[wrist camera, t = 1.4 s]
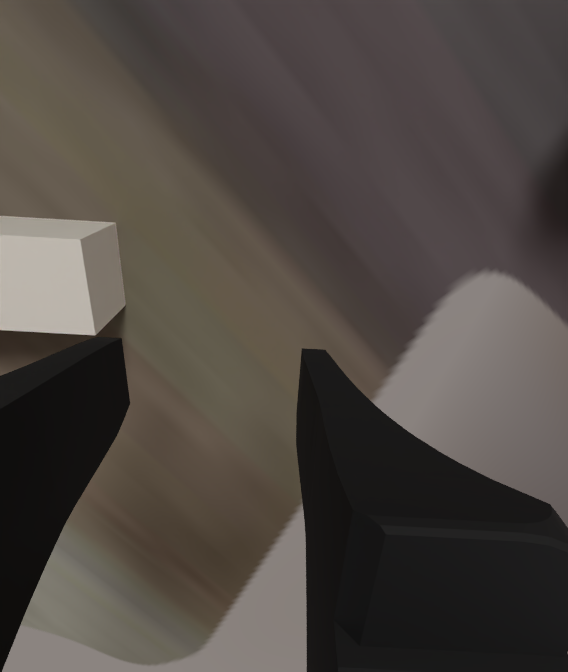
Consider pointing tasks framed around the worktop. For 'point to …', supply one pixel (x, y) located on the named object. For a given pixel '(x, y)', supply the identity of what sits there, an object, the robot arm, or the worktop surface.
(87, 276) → the bar
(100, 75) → the worktop surface
